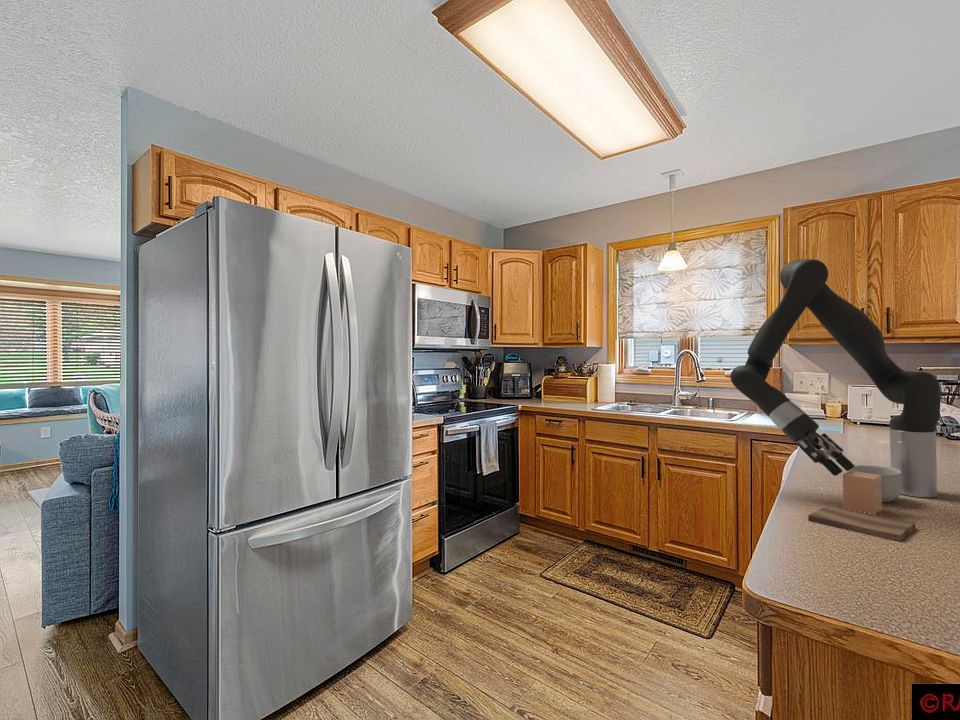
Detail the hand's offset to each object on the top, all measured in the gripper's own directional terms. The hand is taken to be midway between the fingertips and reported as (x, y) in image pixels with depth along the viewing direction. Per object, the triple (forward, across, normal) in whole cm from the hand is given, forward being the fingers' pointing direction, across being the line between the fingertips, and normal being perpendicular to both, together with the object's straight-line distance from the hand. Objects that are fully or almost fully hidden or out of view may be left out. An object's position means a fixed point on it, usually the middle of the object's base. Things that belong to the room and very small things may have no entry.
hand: (845, 471), depth 116 cm
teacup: (+7, +14, +6) cm, 17 cm away
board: (+11, -13, +2) cm, 17 cm away
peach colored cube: (+9, 0, +4) cm, 9 cm away
